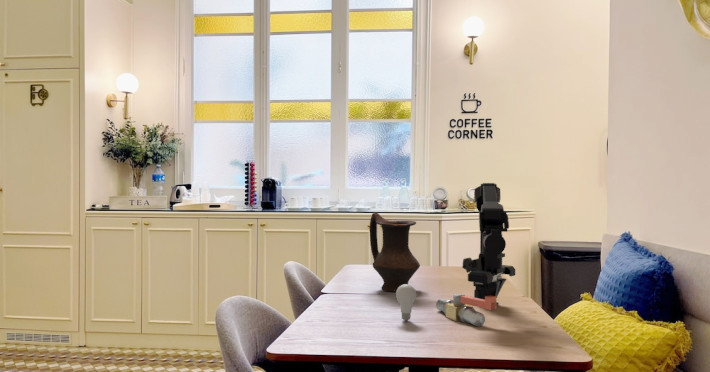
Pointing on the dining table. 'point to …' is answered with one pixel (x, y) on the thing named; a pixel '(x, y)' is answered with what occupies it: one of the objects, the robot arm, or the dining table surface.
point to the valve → (460, 312)
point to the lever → (475, 301)
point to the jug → (392, 252)
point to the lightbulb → (406, 300)
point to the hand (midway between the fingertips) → (492, 302)
